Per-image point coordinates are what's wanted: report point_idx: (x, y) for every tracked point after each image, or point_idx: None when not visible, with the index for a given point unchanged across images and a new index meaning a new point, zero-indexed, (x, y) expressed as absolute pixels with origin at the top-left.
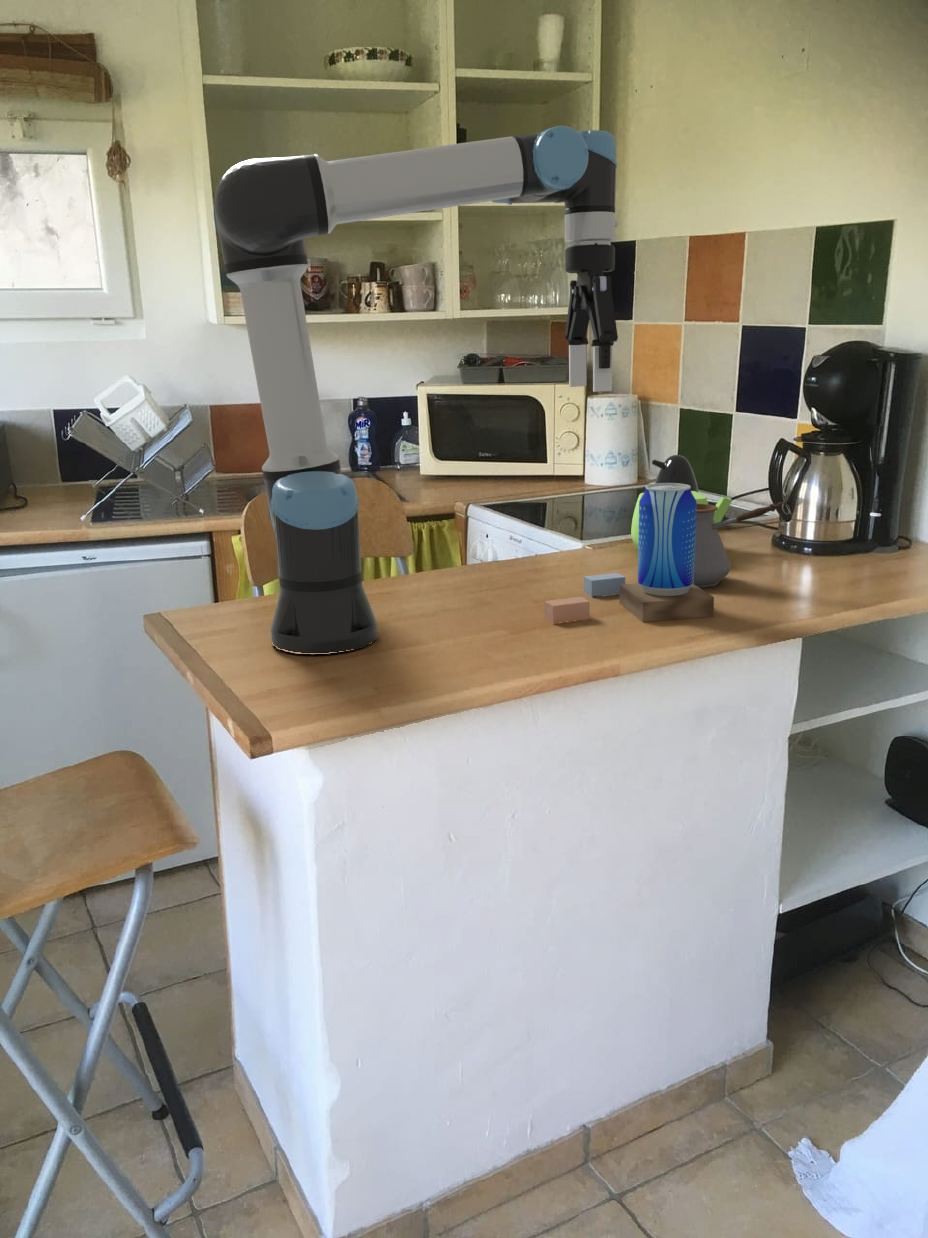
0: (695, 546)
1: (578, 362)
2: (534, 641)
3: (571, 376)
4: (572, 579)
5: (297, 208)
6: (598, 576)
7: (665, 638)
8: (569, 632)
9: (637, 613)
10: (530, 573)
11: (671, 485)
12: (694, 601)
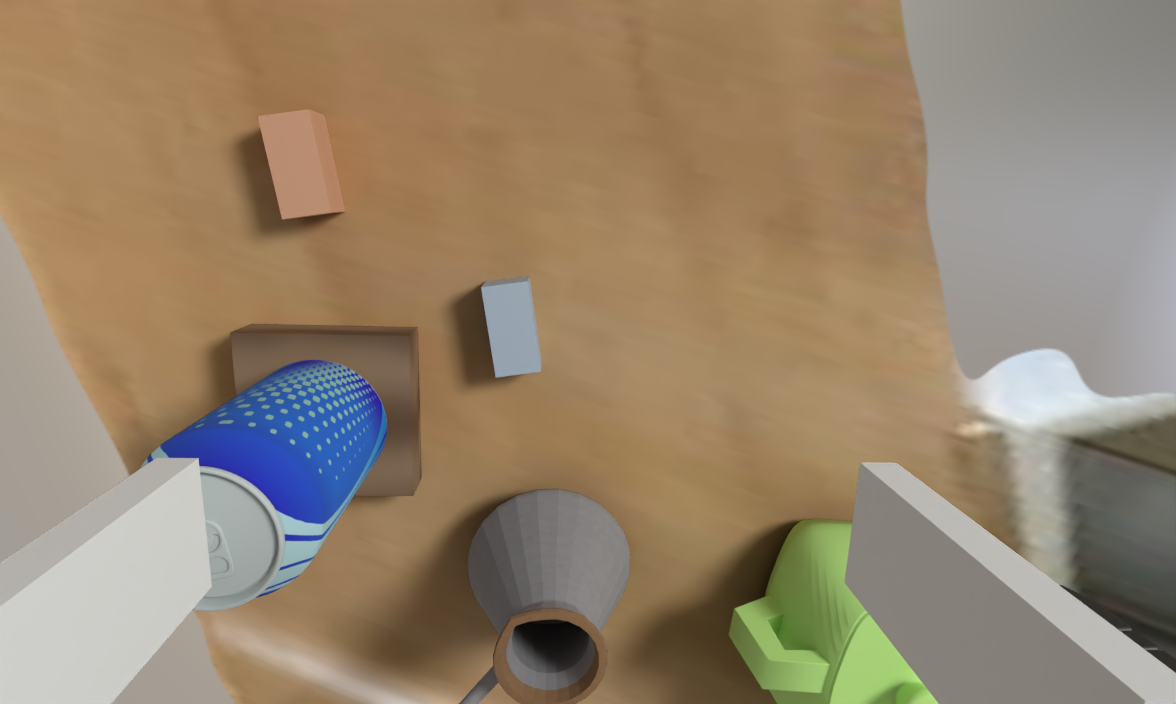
0: (492, 577)
1: (965, 644)
2: (143, 36)
3: (899, 507)
4: (668, 290)
5: None
6: (518, 316)
7: (120, 327)
8: (201, 139)
9: (283, 326)
10: (766, 204)
11: (270, 569)
12: None
